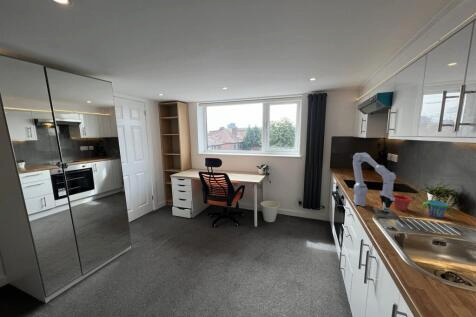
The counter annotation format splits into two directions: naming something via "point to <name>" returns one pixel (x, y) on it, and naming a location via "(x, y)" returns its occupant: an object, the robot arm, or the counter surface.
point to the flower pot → (401, 202)
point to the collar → (385, 213)
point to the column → (385, 208)
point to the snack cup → (436, 208)
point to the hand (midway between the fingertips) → (385, 206)
